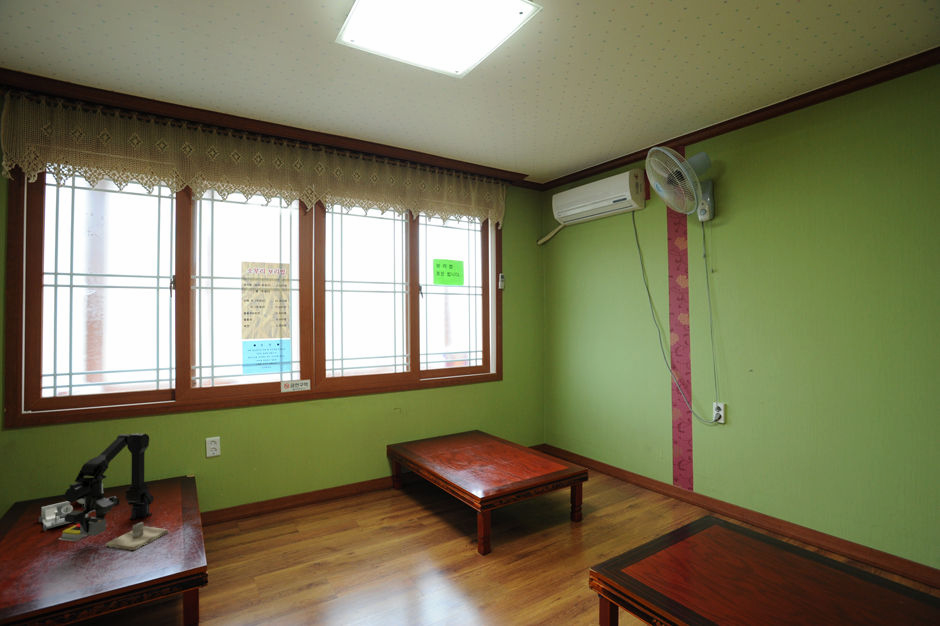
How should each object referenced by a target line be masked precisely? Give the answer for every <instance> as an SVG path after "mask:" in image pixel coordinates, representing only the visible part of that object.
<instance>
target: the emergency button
mask: <svg viewBox="0 0 940 626" xmlns="http://www.w3.org/2000/svg"><path fill="white" fill-rule="evenodd" d="M88 536H89V535H84V534H80V524H79V523H76V524H75V525H73V526H71V527H69V528H66V529H64V530H63V531H62V535H61V537H62V538H61V537H59V538H58V540H61V541H67V542H68V541H70V542H77V541H79V540H82V539H83V537H84V538H86V537H88Z"/></svg>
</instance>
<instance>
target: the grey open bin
mask: <svg viewBox="0 0 940 626" xmlns="http://www.w3.org/2000/svg"><path fill="white" fill-rule="evenodd" d="M90 517H91V518H90V520H89V530H88V533H85V531H84V530H83V528H82V527H81V525H80V534H84V535H88V536H90V537H91V536H92V537H95V536H98V535H100V534H102V533H104V532H106V530H107V527H106V525H107V518H104V519H103V518H97V517H96V516H90Z"/></svg>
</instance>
